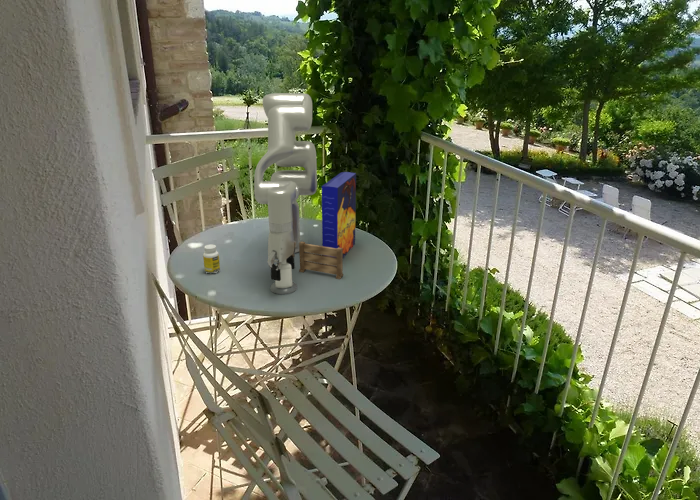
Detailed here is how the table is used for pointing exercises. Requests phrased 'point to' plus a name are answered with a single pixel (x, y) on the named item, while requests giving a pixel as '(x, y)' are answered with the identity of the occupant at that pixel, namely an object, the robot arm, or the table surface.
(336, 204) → the cereal box
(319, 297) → the table surface
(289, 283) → the eye dropper bottle
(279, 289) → the coaster
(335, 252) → the brown piece
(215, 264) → the supplement bottle
